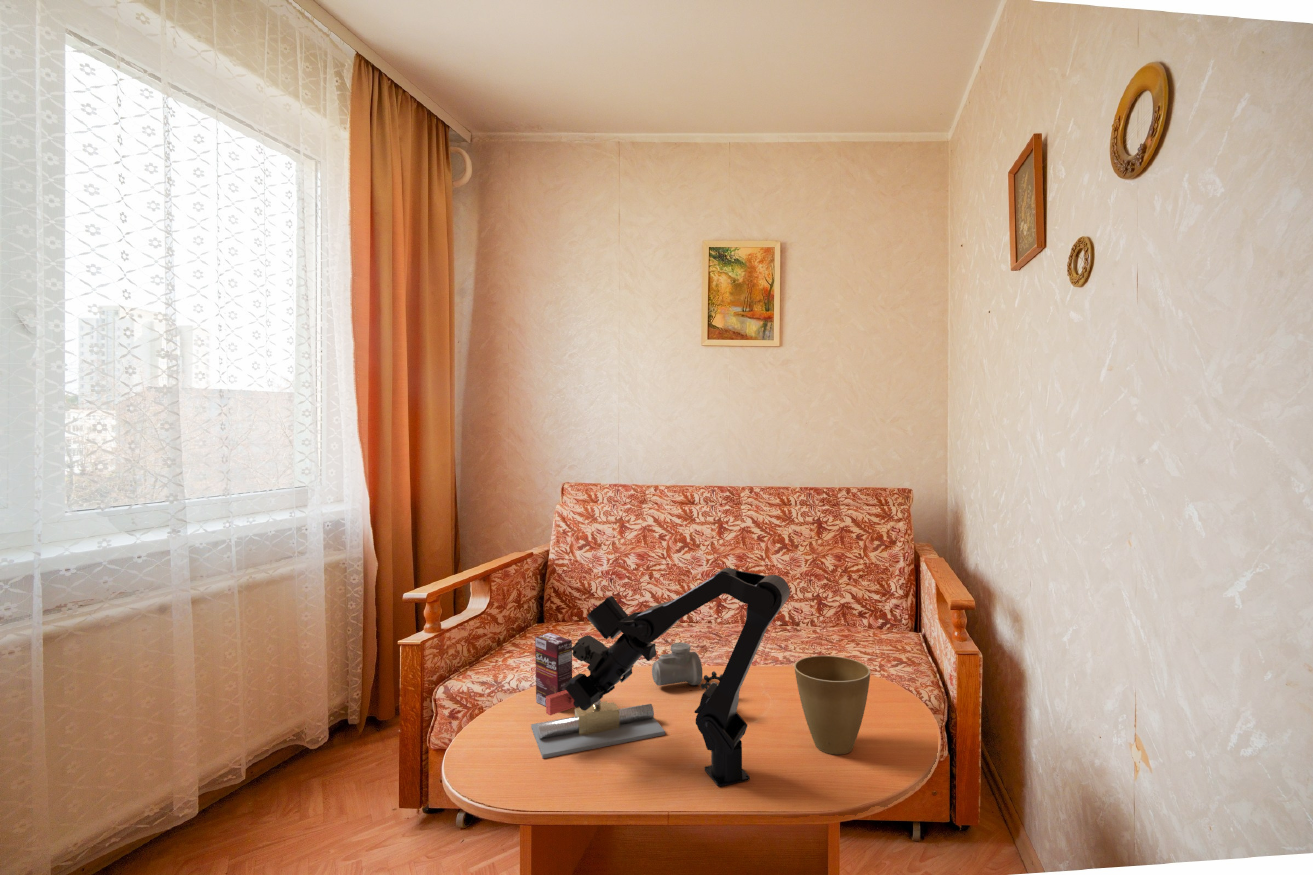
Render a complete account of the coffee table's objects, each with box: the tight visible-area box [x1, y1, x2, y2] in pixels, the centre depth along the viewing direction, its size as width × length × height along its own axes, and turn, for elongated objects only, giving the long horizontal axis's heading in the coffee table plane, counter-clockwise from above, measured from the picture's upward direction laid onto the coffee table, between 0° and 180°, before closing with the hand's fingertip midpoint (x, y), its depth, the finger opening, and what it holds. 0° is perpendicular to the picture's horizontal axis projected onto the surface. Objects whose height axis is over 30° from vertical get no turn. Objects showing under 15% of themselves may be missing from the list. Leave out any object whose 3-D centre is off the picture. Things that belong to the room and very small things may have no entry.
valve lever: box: [545, 690, 604, 716], centre depth 131 cm, size 13×3×3 cm, turn 131°
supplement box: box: [534, 632, 573, 707], centre depth 148 cm, size 9×5×16 cm, turn 48°
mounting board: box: [530, 704, 666, 759], centre depth 134 cm, size 26×14×1 cm, turn 110°
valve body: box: [537, 699, 655, 739], centre depth 134 cm, size 25×4×6 cm, turn 110°
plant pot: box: [793, 655, 871, 755], centre depth 127 cm, size 15×15×16 cm
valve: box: [700, 671, 723, 691], centre depth 145 cm, size 7×7×12 cm
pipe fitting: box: [651, 642, 703, 687], centre depth 158 cm, size 12×8×10 cm
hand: (576, 704), depth 129 cm, fingers closed
